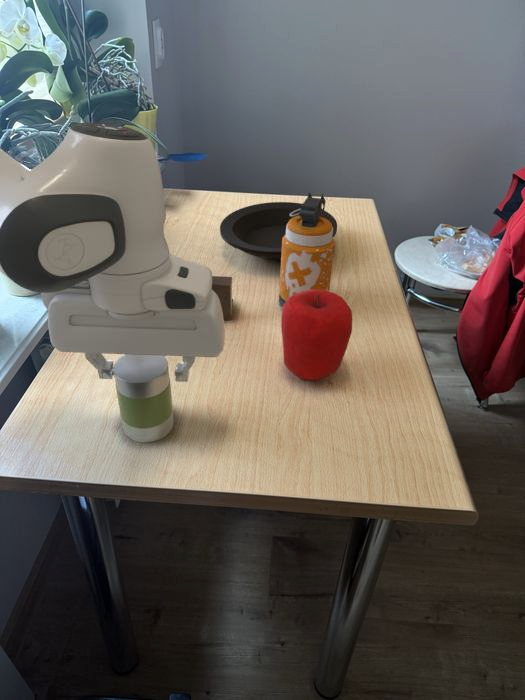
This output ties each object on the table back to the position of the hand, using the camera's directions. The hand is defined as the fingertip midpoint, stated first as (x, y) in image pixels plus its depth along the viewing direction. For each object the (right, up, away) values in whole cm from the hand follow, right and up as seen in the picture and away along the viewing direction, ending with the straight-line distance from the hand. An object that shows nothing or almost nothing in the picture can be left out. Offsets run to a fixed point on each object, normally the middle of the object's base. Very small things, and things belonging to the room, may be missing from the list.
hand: (145, 377), depth 66 cm
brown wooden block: (0, +11, +28) cm, 30 cm away
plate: (+18, +26, +50) cm, 59 cm away
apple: (+22, 0, +15) cm, 27 cm away
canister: (+22, +12, +32) cm, 41 cm away
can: (0, -7, +5) cm, 8 cm away
